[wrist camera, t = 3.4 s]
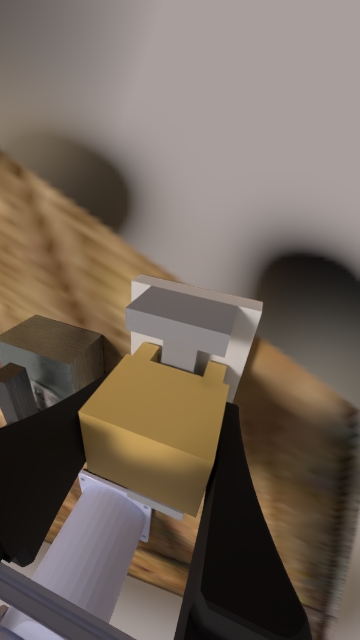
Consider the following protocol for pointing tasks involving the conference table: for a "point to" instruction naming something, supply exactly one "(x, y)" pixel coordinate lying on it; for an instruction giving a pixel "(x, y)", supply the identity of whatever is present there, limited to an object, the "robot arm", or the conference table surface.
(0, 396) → the dark lever handle
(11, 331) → the lever base
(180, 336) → the rail
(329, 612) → the conference table surface
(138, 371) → the carriage
